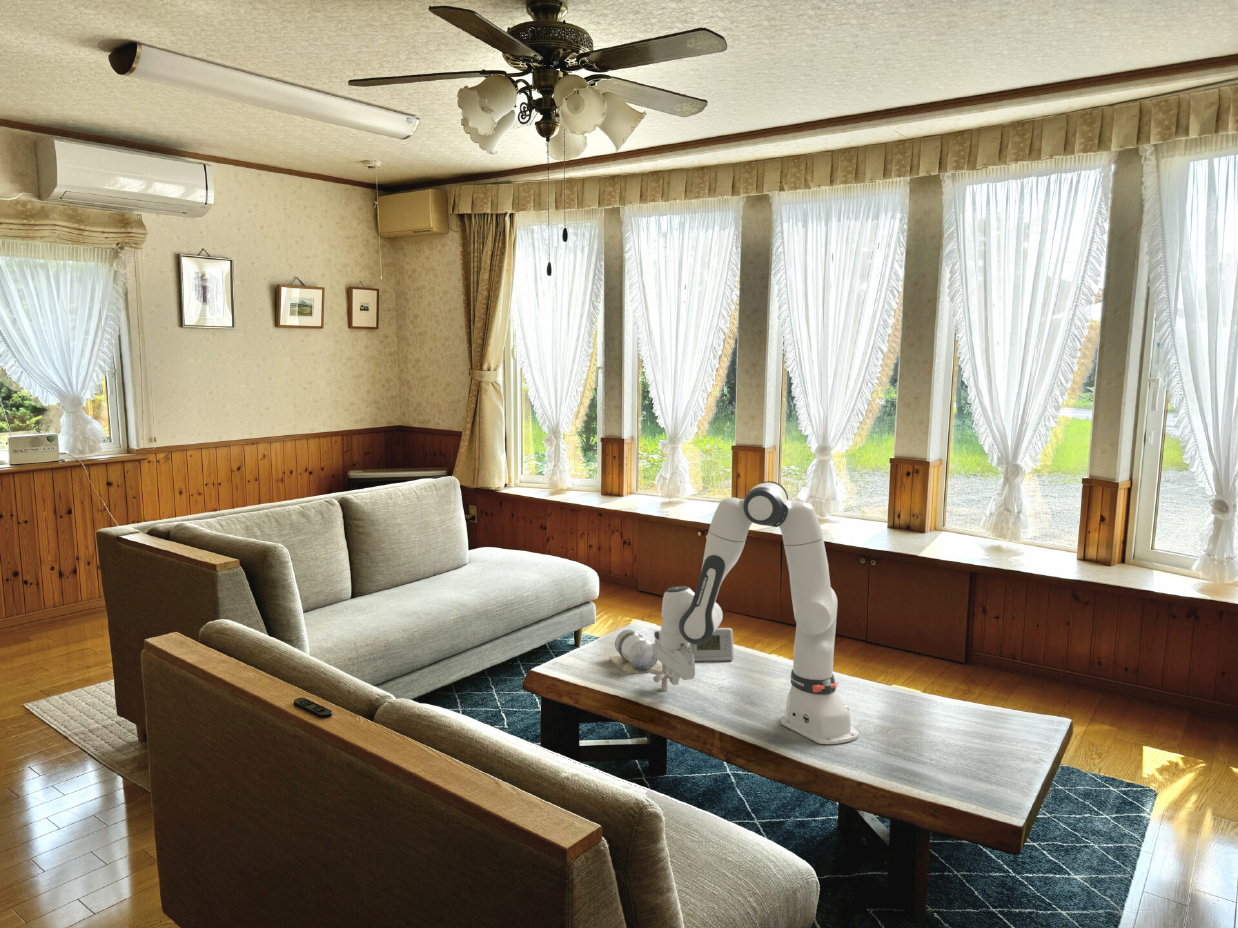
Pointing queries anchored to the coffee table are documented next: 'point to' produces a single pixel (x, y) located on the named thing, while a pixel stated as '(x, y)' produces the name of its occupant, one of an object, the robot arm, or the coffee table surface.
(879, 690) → the coffee table surface
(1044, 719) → the coffee table surface
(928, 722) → the coffee table surface
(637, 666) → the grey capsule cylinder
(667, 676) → the pipe connector
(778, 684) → the coffee table surface
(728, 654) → the digital clock
